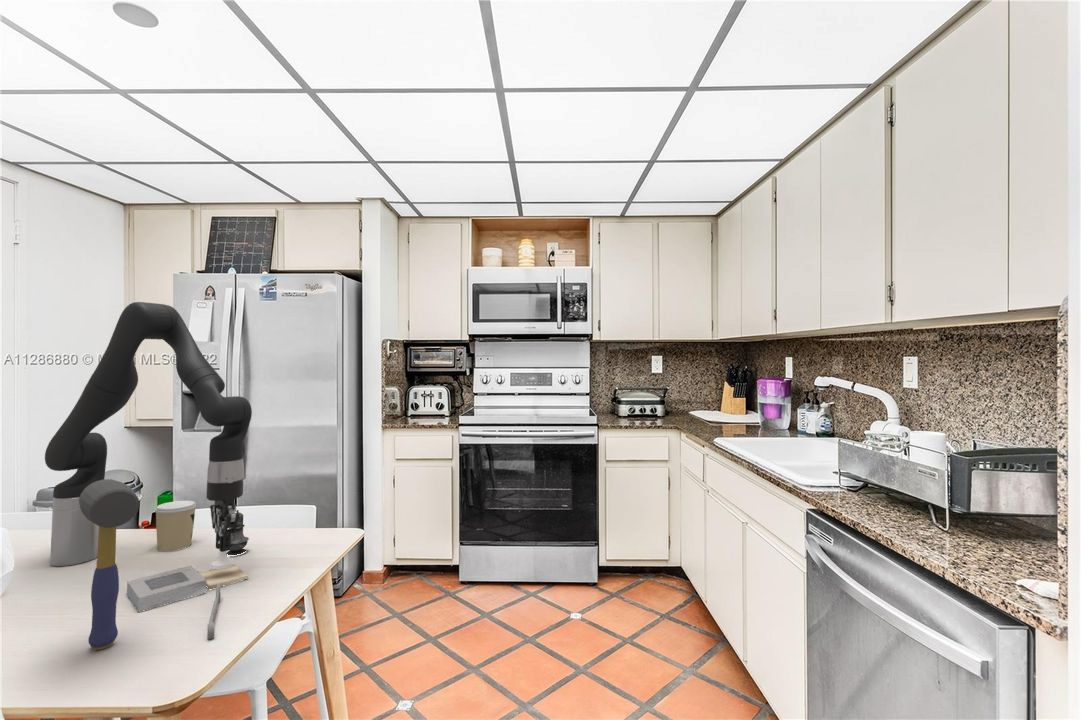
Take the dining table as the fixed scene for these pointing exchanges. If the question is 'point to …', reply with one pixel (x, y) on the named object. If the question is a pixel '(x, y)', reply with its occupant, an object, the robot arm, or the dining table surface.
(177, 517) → the coffee cup
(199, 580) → the socket block
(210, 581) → the birch pad
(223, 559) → the chess piece
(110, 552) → the rubber mallet
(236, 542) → the salt shaker
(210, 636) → the combination wrench
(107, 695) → the dining table surface
